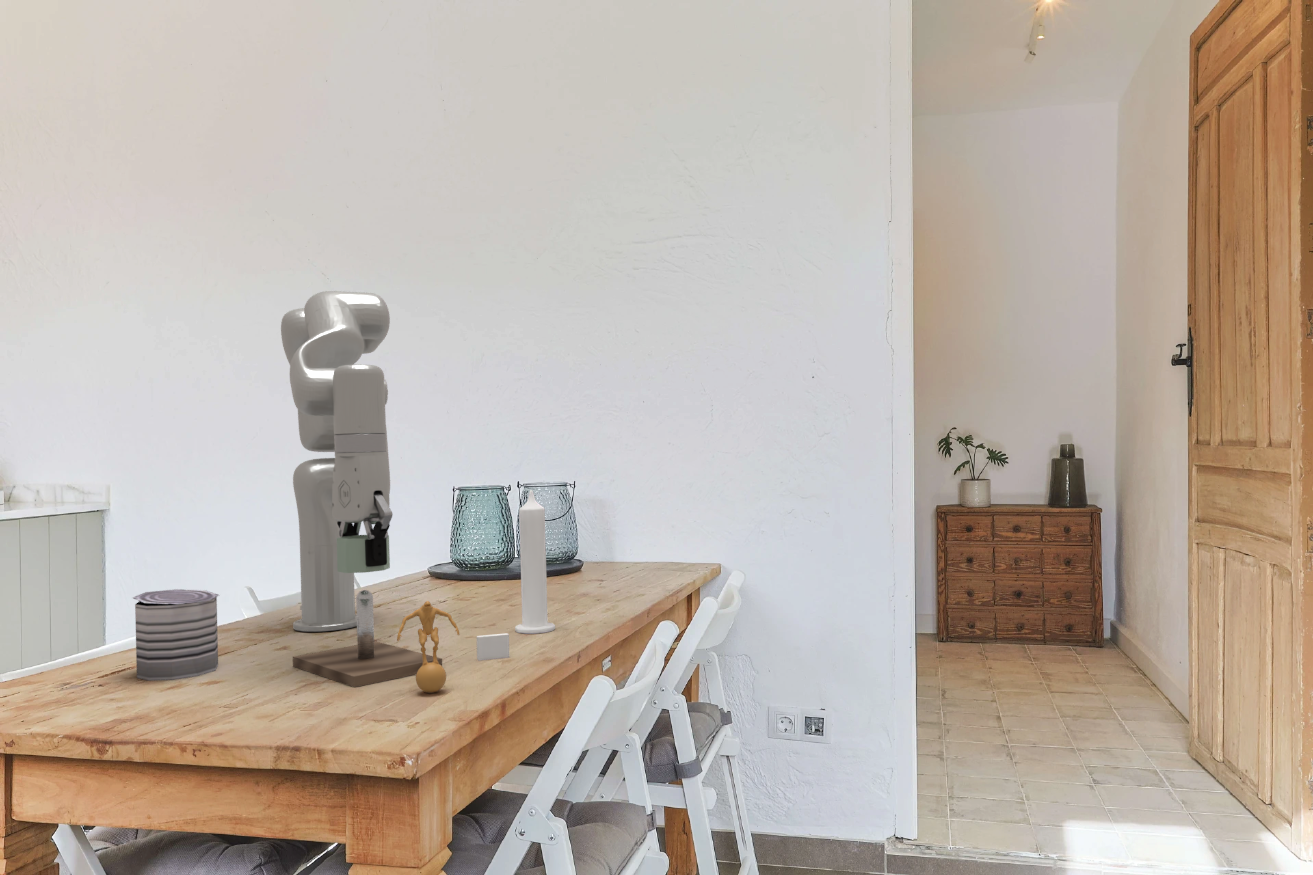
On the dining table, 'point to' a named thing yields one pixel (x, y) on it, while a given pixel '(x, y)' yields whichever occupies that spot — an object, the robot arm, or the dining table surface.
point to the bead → (356, 555)
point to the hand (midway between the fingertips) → (363, 563)
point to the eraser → (493, 646)
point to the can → (176, 634)
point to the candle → (533, 569)
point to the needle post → (365, 625)
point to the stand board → (362, 664)
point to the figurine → (431, 673)
